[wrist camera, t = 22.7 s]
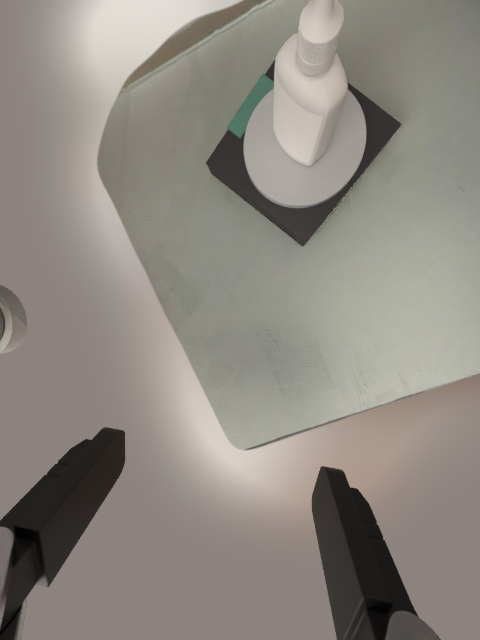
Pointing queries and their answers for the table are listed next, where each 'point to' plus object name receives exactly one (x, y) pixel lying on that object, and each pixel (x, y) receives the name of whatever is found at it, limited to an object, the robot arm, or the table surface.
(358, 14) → the table surface
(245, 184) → the scale
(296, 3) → the table surface
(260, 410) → the table surface
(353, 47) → the table surface
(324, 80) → the eye dropper bottle
